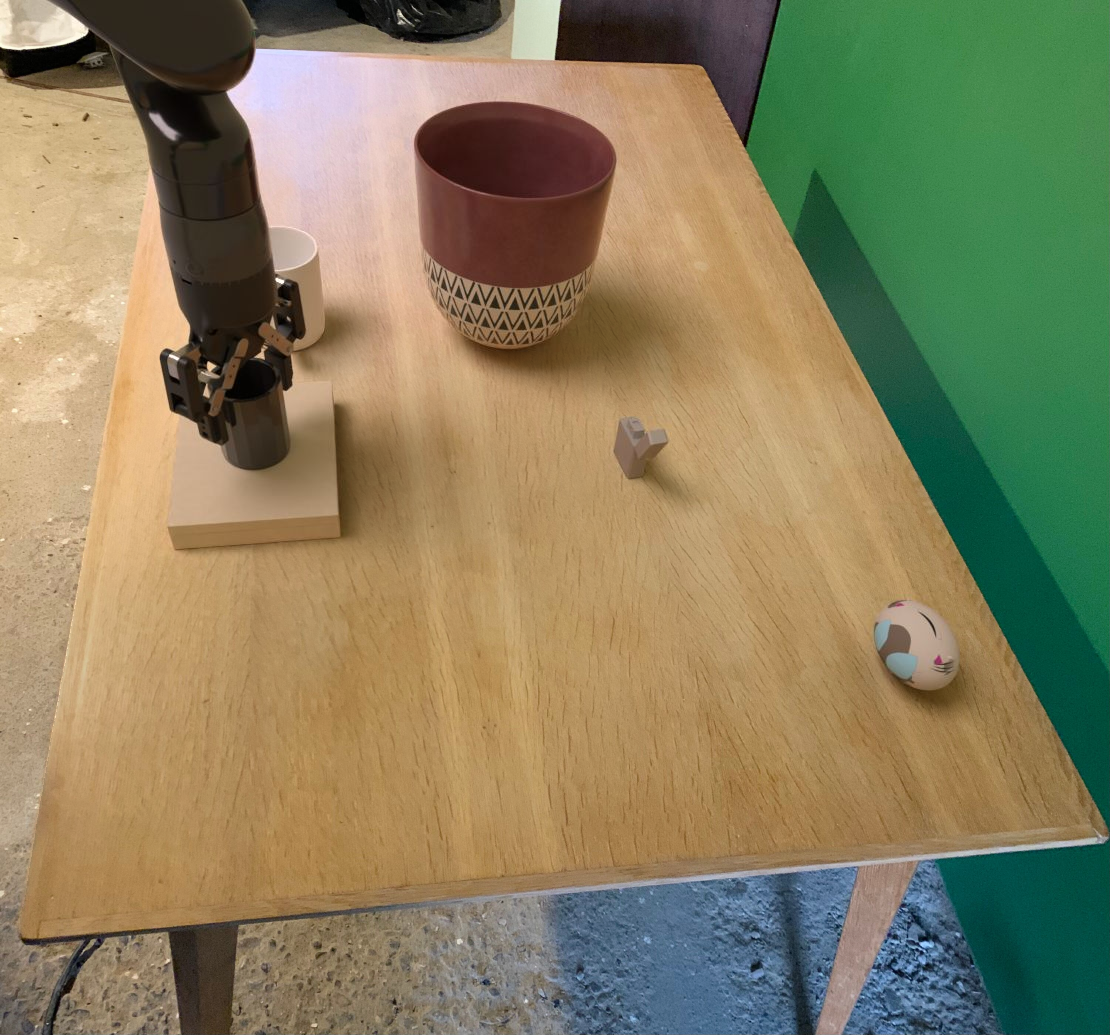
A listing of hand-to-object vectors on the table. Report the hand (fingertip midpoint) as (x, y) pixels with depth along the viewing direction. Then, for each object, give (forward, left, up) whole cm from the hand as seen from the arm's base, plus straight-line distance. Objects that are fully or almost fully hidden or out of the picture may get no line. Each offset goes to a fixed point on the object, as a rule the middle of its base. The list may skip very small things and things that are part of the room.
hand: (249, 412), depth 83 cm
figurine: (+10, -59, -7) cm, 60 cm away
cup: (+17, +10, -7) cm, 21 cm away
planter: (+32, -8, -7) cm, 34 cm away
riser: (0, 0, -7) cm, 7 cm away
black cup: (0, 0, -4) cm, 4 cm away
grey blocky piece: (+19, -30, -7) cm, 36 cm away
